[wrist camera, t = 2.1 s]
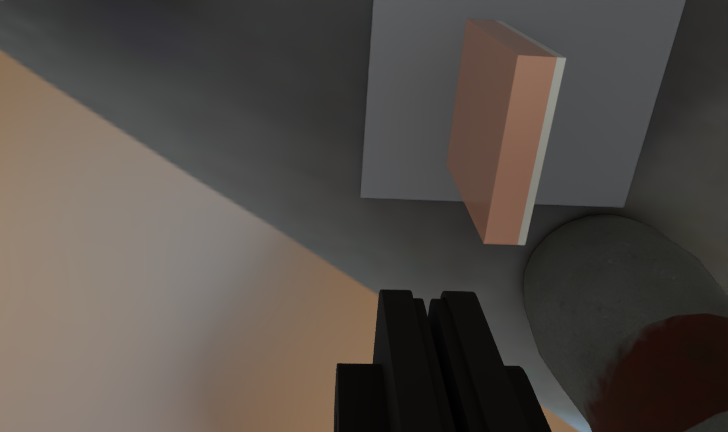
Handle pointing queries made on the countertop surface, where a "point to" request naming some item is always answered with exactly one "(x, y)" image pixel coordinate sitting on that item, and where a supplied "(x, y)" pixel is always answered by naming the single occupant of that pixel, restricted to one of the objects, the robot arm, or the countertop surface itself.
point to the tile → (502, 126)
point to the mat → (573, 107)
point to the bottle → (630, 327)
